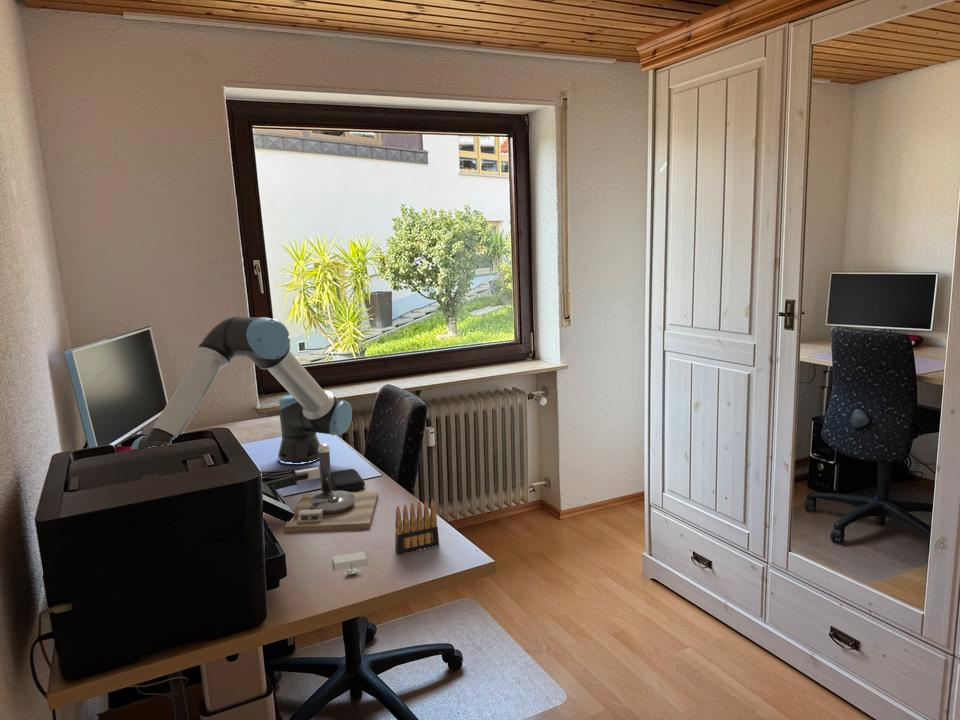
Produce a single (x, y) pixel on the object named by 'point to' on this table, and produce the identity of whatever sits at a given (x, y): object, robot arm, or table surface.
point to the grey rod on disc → (330, 489)
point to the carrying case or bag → (346, 480)
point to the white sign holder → (350, 562)
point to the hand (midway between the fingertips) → (319, 472)
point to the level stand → (334, 515)
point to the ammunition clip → (416, 529)
